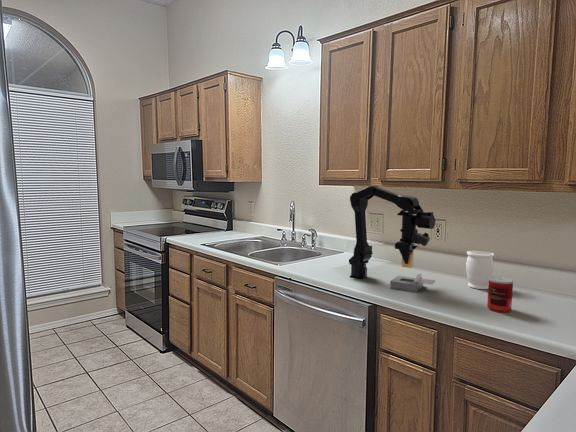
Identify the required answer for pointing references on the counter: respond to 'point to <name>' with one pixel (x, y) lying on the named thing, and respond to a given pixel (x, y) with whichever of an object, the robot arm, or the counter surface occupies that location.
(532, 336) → the counter surface
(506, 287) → the canned food
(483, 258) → the jar
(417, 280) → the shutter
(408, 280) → the socket
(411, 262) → the plug
